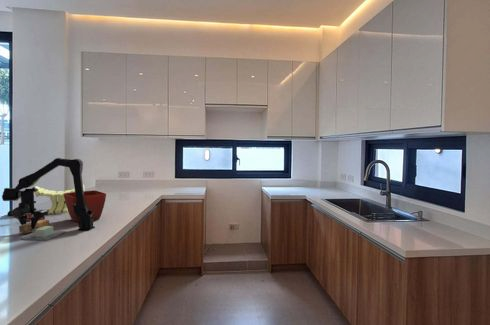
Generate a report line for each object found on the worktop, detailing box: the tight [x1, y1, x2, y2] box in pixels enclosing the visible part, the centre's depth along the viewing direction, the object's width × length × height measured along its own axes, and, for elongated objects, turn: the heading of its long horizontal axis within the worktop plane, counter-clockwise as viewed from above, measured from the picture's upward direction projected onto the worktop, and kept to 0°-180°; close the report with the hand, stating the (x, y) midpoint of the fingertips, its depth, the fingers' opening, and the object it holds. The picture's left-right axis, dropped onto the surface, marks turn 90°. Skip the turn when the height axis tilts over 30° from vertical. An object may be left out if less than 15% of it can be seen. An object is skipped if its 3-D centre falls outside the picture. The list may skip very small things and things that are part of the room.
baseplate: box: [20, 225, 67, 242], centre depth 155 cm, size 14×14×4 cm
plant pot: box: [64, 189, 107, 224], centre depth 188 cm, size 19×19×17 cm
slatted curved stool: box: [34, 183, 86, 215], centre depth 212 cm, size 30×16×18 cm, turn 113°
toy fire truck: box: [27, 207, 46, 222], centre depth 184 cm, size 3×14×10 cm, turn 141°
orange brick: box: [37, 219, 50, 228], centre depth 170 cm, size 4×7×4 cm, turn 174°
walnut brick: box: [18, 221, 38, 234], centre depth 159 cm, size 4×7×4 cm, turn 175°
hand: (28, 228), depth 159 cm, fingers closed on walnut brick, 4 cm apart
